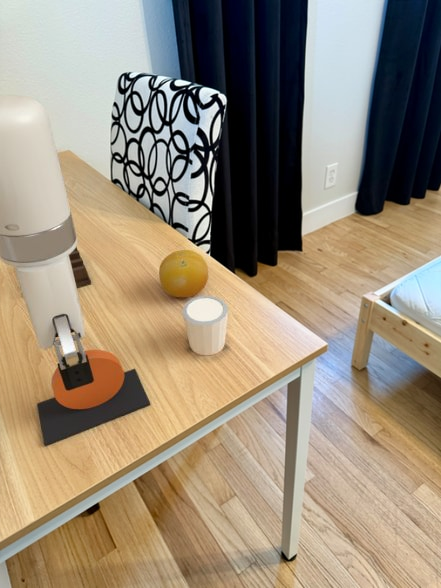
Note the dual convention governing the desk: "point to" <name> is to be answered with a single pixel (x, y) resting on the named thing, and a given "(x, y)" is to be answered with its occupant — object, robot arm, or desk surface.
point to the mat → (90, 411)
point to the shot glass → (206, 324)
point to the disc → (97, 392)
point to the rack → (79, 269)
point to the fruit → (183, 273)
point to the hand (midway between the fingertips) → (72, 357)
